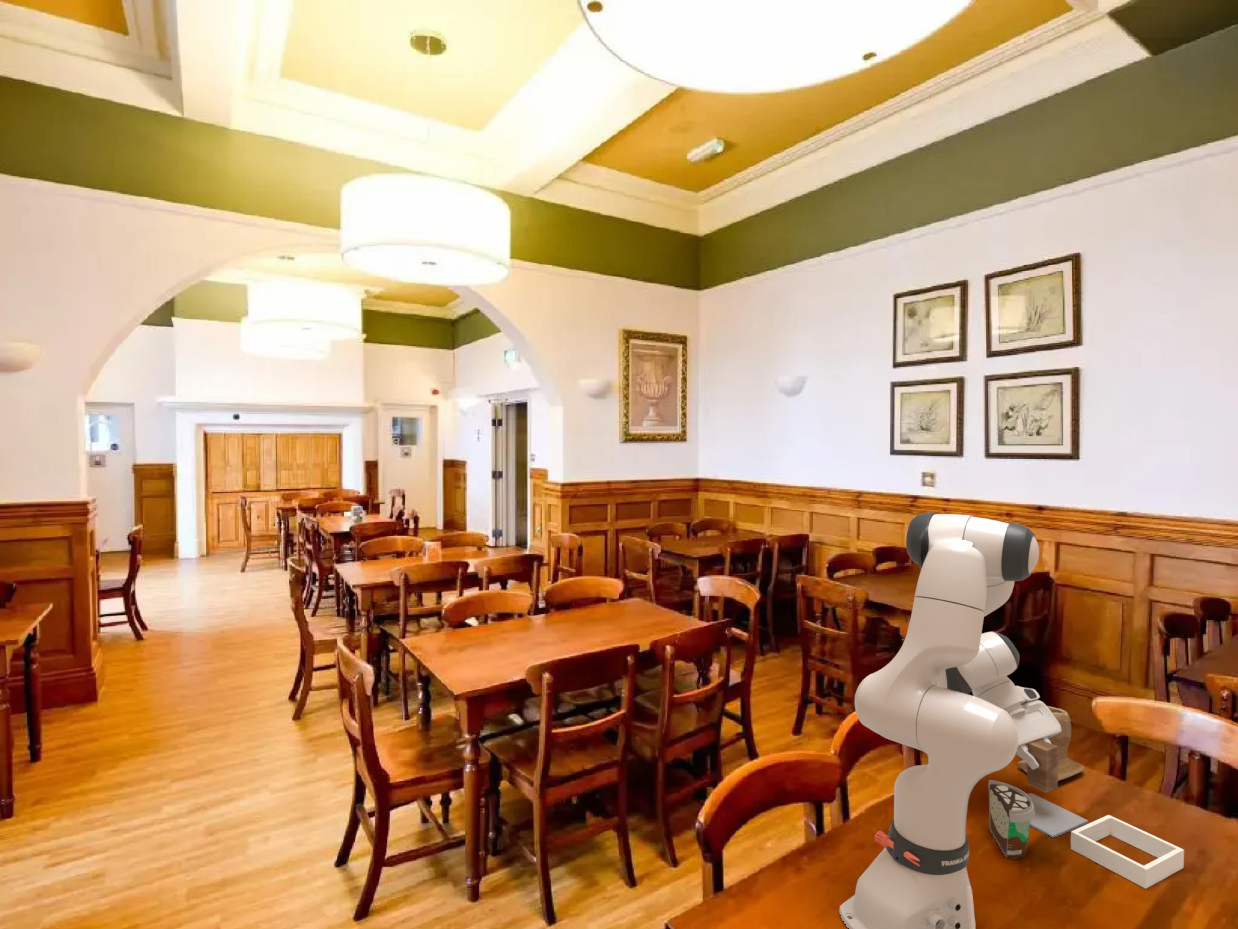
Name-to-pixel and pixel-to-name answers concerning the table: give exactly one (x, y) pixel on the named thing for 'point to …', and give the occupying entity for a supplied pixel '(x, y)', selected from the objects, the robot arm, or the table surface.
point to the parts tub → (1131, 870)
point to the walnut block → (1043, 766)
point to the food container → (1010, 818)
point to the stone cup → (1061, 746)
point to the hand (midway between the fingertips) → (1045, 765)
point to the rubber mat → (1053, 818)
